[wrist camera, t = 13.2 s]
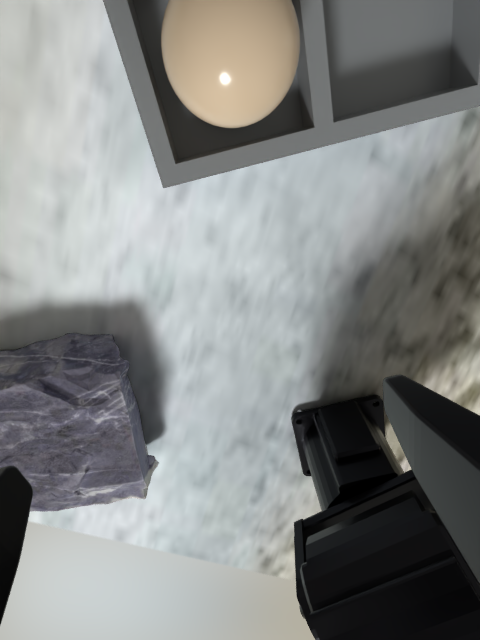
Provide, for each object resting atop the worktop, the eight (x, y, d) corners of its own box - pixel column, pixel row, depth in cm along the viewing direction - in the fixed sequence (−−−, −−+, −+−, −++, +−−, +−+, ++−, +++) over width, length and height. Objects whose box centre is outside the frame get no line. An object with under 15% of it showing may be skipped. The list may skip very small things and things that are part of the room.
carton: (603, 66, 17) (660, 59, 15) (168, 179, 18) (163, 188, 16) (656, -177, 14) (742, -234, 11) (106, -21, 14) (88, -45, 12)
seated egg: (283, 111, 17) (325, 108, 11) (190, 136, 17) (181, 146, 11) (265, -14, 14) (304, -100, 9) (157, 17, 15) (126, -49, 9)
